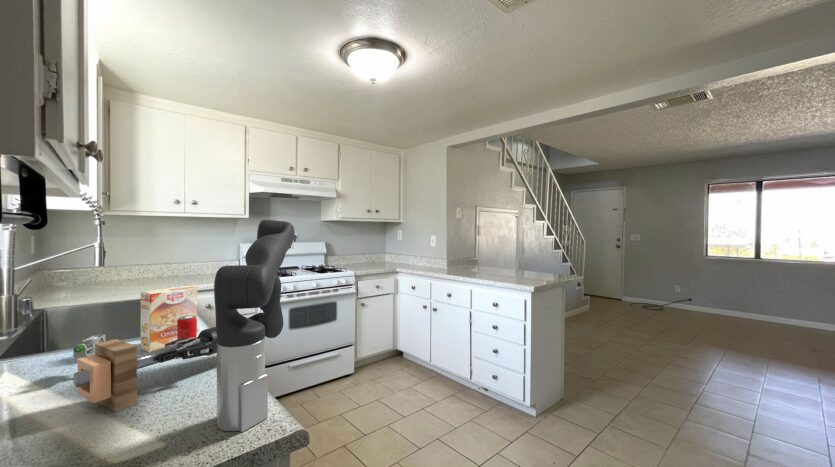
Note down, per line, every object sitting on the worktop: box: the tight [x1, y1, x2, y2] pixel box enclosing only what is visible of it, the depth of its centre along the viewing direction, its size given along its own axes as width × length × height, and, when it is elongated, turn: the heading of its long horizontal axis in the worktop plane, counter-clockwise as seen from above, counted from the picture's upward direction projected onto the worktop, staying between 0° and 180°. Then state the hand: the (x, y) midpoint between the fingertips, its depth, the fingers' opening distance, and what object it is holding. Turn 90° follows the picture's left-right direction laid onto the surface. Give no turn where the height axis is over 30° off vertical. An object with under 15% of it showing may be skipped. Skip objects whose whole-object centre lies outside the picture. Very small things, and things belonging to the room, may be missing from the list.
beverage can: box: [177, 315, 198, 340], centre depth 112 cm, size 5×5×12 cm
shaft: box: [72, 343, 183, 389], centre depth 84 cm, size 21×3×3 cm, turn 152°
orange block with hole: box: [76, 355, 111, 404], centre depth 77 cm, size 8×3×8 cm, turn 62°
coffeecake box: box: [140, 285, 198, 353], centre depth 120 cm, size 15×7×20 cm, turn 150°
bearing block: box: [95, 338, 138, 413], centre depth 81 cm, size 10×4×14 cm, turn 62°
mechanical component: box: [72, 334, 107, 359], centre depth 95 cm, size 3×10×10 cm, turn 15°
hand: (155, 357), depth 88 cm, fingers closed on shaft, 3 cm apart
